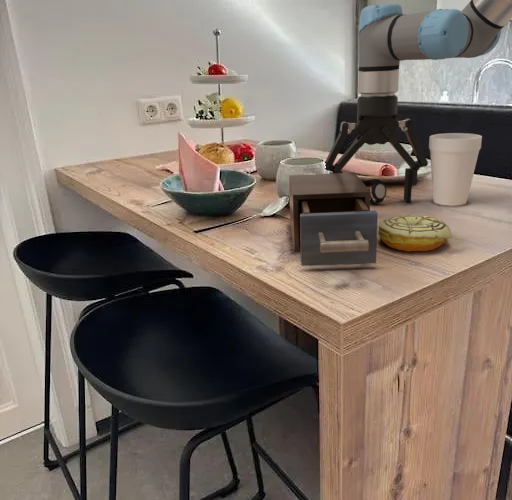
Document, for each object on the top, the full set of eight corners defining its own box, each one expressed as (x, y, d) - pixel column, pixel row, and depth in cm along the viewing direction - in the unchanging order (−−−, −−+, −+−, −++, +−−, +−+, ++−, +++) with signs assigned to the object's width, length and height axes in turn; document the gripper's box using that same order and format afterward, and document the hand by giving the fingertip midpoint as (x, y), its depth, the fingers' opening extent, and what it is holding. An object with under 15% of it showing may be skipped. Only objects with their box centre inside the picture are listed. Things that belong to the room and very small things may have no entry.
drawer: (385, 279, 64) (387, 225, 62) (304, 282, 65) (303, 228, 62) (359, 233, 82) (360, 189, 80) (296, 235, 83) (295, 192, 80)
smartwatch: (369, 207, 100) (370, 182, 98) (360, 201, 105) (360, 177, 103) (389, 205, 101) (390, 181, 99) (379, 199, 105) (380, 176, 104)
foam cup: (470, 209, 95) (477, 140, 91) (421, 205, 100) (425, 139, 95) (477, 197, 103) (484, 133, 98) (431, 194, 107) (435, 132, 103)
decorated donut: (464, 247, 76) (466, 223, 75) (406, 259, 73) (408, 235, 72) (419, 229, 86) (421, 207, 84) (366, 239, 82) (366, 217, 81)
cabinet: (368, 248, 78) (370, 191, 75) (294, 251, 78) (292, 194, 75) (353, 221, 92) (354, 172, 88) (290, 224, 92) (289, 175, 89)
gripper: (437, 90, 99) (429, 195, 106) (310, 96, 99) (311, 200, 107) (450, 92, 92) (440, 204, 99) (313, 99, 92) (314, 209, 100)
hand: (373, 202), depth 103 cm, fingers open, 13 cm apart
